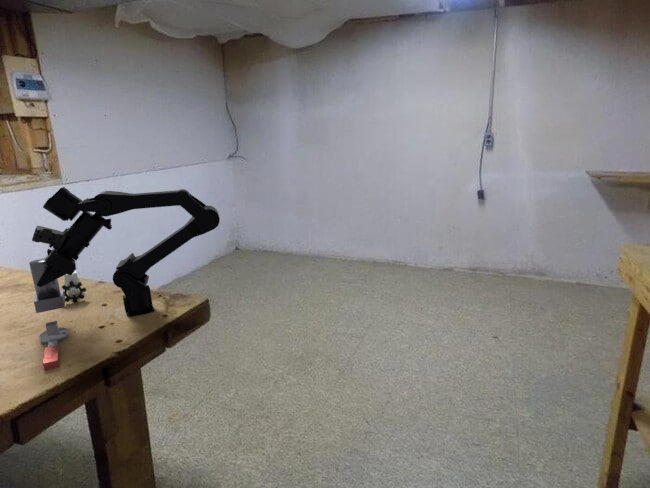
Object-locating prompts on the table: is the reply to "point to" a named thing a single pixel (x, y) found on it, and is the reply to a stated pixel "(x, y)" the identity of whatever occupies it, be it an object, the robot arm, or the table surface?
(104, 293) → the table surface
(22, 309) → the table surface
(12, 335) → the table surface
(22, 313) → the table surface
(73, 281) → the valve
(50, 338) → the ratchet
